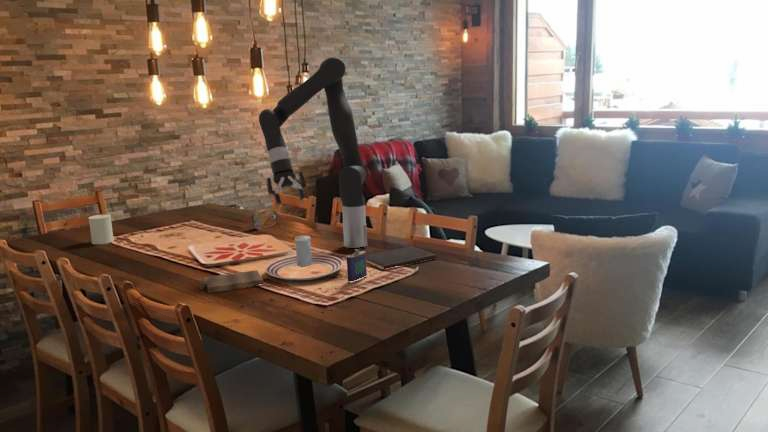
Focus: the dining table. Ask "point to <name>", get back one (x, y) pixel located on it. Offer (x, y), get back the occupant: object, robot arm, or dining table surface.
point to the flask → (356, 265)
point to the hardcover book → (399, 257)
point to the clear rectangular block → (263, 219)
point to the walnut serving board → (231, 281)
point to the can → (101, 229)
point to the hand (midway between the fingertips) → (290, 202)
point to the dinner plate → (316, 259)
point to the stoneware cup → (303, 250)
